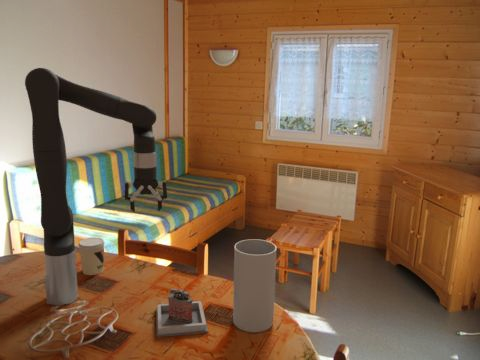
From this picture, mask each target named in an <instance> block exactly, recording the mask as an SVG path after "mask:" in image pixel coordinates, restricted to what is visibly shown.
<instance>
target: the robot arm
mask: <svg viewBox="0 0 480 360" xmlns="http://www.w3.org/2000/svg"><path fill="white" fill-rule="evenodd" d="M24 85H25V89H26V90H25V91H26V94H27V97H28V100H29V101H28V102H29V106H30V111H31V118H32V121H31V122H32V126H31V128H32V129H31V130H32V132H31V133H32V134H31V136H32V137H31V139H32V141H31V143H32V154H33V162H34V166H35V173H36V179H37V184H38V187H39V191H40V206H41V207H40V208H41V209H40V211H41V212H40V224H41V225H40V226H41V227H42V229H43V253H44V261H45V262H44V263H45V276H44V286H45V296H46V297H45V298H46V304H47V305H53V306H63V305H62V304H66V305H69V304H72V303H73V302H76V300H77V299H78V298H79V293H78V292H79V291H78V290H79V289H78V277H77V263H76V250H75V249H76V247H75V230H74V229H75V227H74V226H75V225H74V215H73V209H72V208H71V207H70V206H69V202H68V196H67V180H68V178H67V177H68V176H67V175H68V174H67V173H68V161H67V160H68V159H67V150H66V141H65V136H64V132H63V126H62V124H61V120H60V112H59V111H60V110H59V108H60V106H59V104H60V103H59V101H61V102H62V101H63V102H66V103H70V104H72V105H76V106H79V107H82V108H84V109H86V110H89V111H91V112H94V113H97V114H100V115H103V116H107V117H109V118H113V119H116V120H120V121H121V120H122V121H124V122H127V123H128V124H129V123H130V124H132V125H131V126H132V127H131V128H132V132H133V178H134V179H133V181H128V180H126V181H125V182H124V200H125V201H129V203H130V205H129V206H130V211H132V212H133V213H134V212H135V211H136V206H135V205H136V202H135V199H136V198H137V197H138V196H139V194H140V195H152V194H153V196H155V198H156V199H157V211H158V212H160V211H161V210H162V209H163V208H162V207H163V204H162V203H163V200H166V199H168V194H167V192H168V191H167V181H166V180H162V181H158V179H157V177H158V176H157V174H158V173H157V171H158V170H157V169H158V168H157V167H158V166H157V164H158V163H157V155H156V153H157V152H156V138H155V135H154V133H153V132H154V130H153V125H154V124H155V123H156V122H157V113H156V111H155V110H154V109H153V108H152V107H151V106H148V105H145V104H141V103H138V102H134V101H130V100H127V99H125V98H123V97H121V96H118V95H115V94H112V93H109V92H106V91H102V90H99V89H95V88H90V87H86V86H84V85H81V84H78V83H75V82H72V81H70V80H67V79H65V78H63V77H61V76H59V75H58V74H55V72H53V71H51V69H48V68H45V67H37V68H34V69H32V70H30V71H29V72H28V73H27V74H26V77H25V79H24ZM158 186H159V187H160V188H161V189H162V193H163V194H161V193H159V191H158V190H157V188H158ZM132 187H133V188H134V189H135V190H134V192H133V193H132V195H129V192H130V191H129V189H131V188H132Z"/></svg>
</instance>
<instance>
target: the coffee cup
mask: <svg viewBox="0 0 480 360" xmlns="http://www.w3.org/2000/svg"><path fill="white" fill-rule="evenodd" d="M78 247H79V248H78V250H79V256H80V257H79V258H80V264H81V270H82V273H83V275H86V276H95V275H100V274H102V272H104V268H105V266H104V265H105V241H104V239H103V238H100V237H88V238H83V239H82V240H80V241H79V243H78Z"/></svg>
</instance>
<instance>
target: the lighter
mask: <svg viewBox="0 0 480 360" xmlns="http://www.w3.org/2000/svg"><path fill="white" fill-rule="evenodd" d="M169 293H170V294H168V296H167V300H168V304H169V315H168V319H169V320H172V321H175V322H179V323H186V324H190V323H192V322H193V318H192V302H194V301H193V300H194V299H193V297H191V296H190V292H189V291H185V290H184V289H182V288H180V289H177V288H170V289H169Z"/></svg>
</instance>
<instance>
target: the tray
mask: <svg viewBox="0 0 480 360" xmlns="http://www.w3.org/2000/svg"><path fill="white" fill-rule="evenodd" d="M168 315H169V303H160V304H157V309H155V320H156V321H155V322H156V323H155V325H156V326H155V327H156V329H155V330H156V333H155V335H156V338H164V337H165V338H166V337H177V336H189V335H198V334H199V335H200V334H207V333H209V329H208V324H207V322H206V321H207V319H206V316H205V311H204V307H203V303H202V300H197V301H193V302H192V318H193V322H192V323H190V324H186V323H179V322H175V321H172V320H169V319H168Z"/></svg>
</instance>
